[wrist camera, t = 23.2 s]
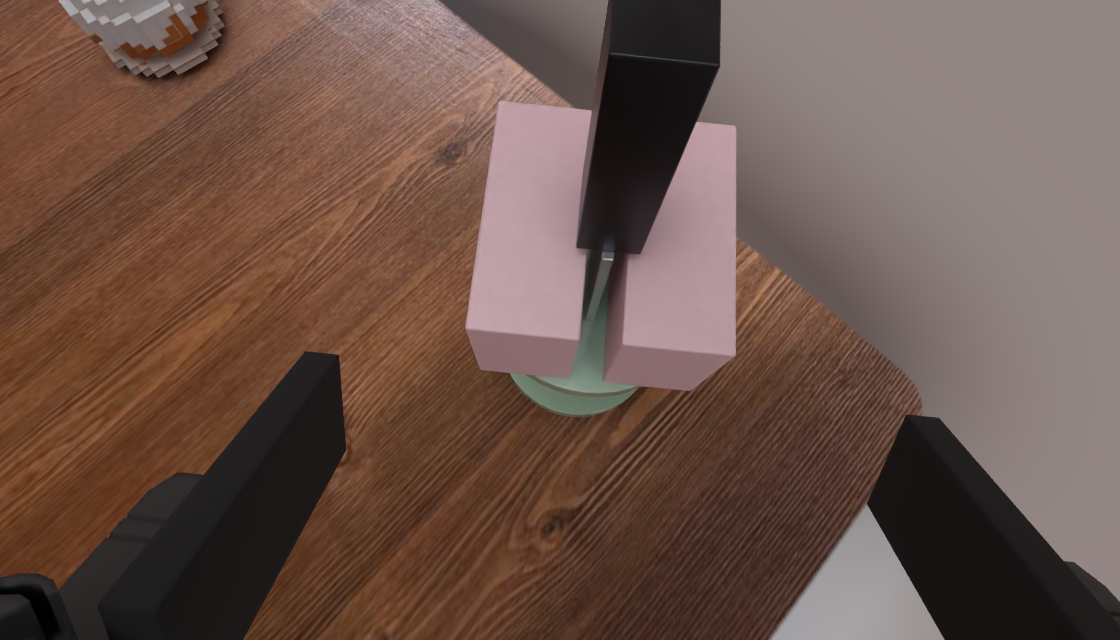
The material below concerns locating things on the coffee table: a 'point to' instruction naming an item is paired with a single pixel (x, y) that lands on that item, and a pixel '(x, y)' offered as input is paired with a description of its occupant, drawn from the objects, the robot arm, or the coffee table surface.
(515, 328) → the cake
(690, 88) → the knife
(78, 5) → the decorative ornament
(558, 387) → the cake stand
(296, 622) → the coffee table surface
